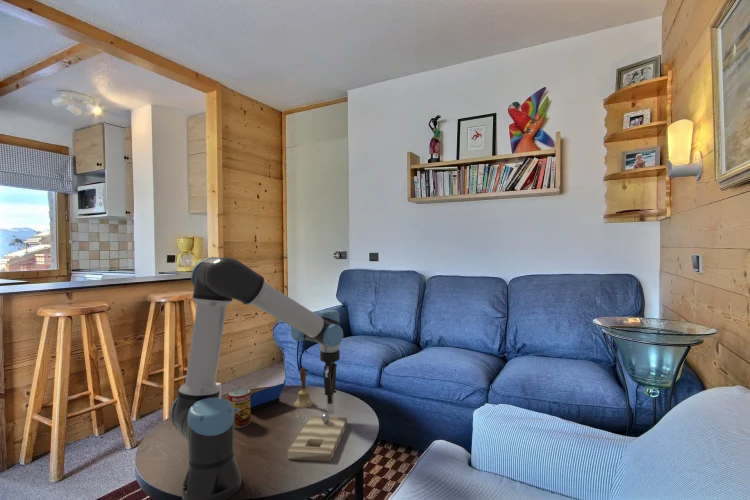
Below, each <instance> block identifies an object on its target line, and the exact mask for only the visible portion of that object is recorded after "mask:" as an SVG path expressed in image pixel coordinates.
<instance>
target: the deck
mask: <svg viewBox="0 0 750 500" xmlns="http://www.w3.org/2000/svg"><path fill="white" fill-rule="evenodd" d="M321 418H322V415H321V416H318V415H317V416H316V415H311V416H310V417H309V418H308V421H307V422H306V423H305V425H304V426H303V428H302V430H300V432H299V433H298V435H297V437H296V438H295V440H294V441H293V443H292V444H291V445H290V447H289V448H288V450H287V460H297V461H315V462H317V461H319V462H332V460H333V457H334V455H335V453H336V451H337V448H338V446H339V444H340V442H341V440H342V437H343V435H344V432H345V430H346V428H347V426H348V417H346V416H330V421H329V422H328V423H324V422H323V421H322V419H321Z"/></svg>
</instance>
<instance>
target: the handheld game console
mask: <svg viewBox="0 0 750 500" xmlns="http://www.w3.org/2000/svg"><path fill="white" fill-rule="evenodd" d="M284 386H285V385H284V383H280V384H277V385H273V386H271V387H267V388H264V389H261V390H258V391H255V392H252V393H250V411H251V412H253V411H255V410H258V409H261V408H262V407H263V408H264V407H267V406H270V405H273V404H277V403H279V402H280V400H281V399H280V397H281V395H282V392H283V389H284Z"/></svg>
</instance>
